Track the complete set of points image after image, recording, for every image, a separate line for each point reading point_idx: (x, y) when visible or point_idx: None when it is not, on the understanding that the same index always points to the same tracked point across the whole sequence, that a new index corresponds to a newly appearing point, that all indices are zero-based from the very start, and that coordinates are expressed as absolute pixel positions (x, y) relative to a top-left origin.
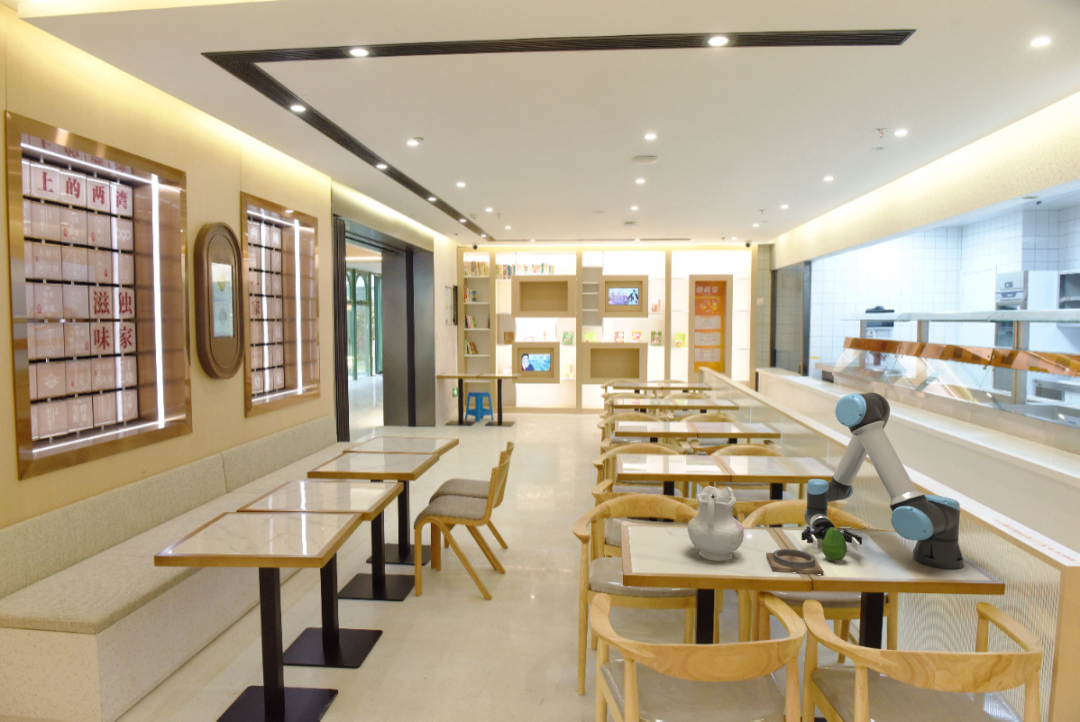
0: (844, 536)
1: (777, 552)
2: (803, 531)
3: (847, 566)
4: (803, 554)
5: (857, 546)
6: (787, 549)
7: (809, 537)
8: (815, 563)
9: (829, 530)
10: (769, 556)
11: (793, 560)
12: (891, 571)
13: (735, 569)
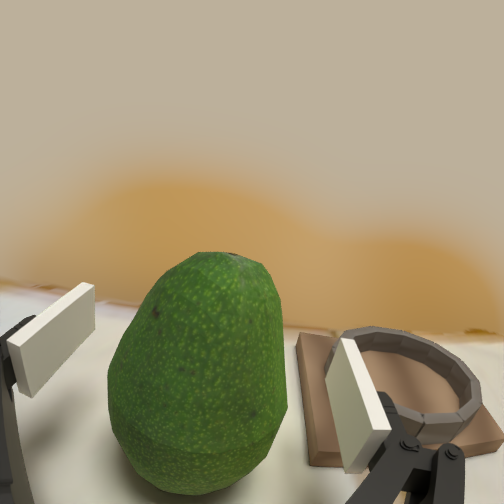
0: (8, 434)
1: (470, 387)
2: (462, 497)
3: None
4: None
5: (92, 303)
6: (454, 417)
7: (392, 413)
8: (320, 377)
9: (270, 277)
10: (482, 409)
11: (405, 393)
12: None
13: (499, 361)
